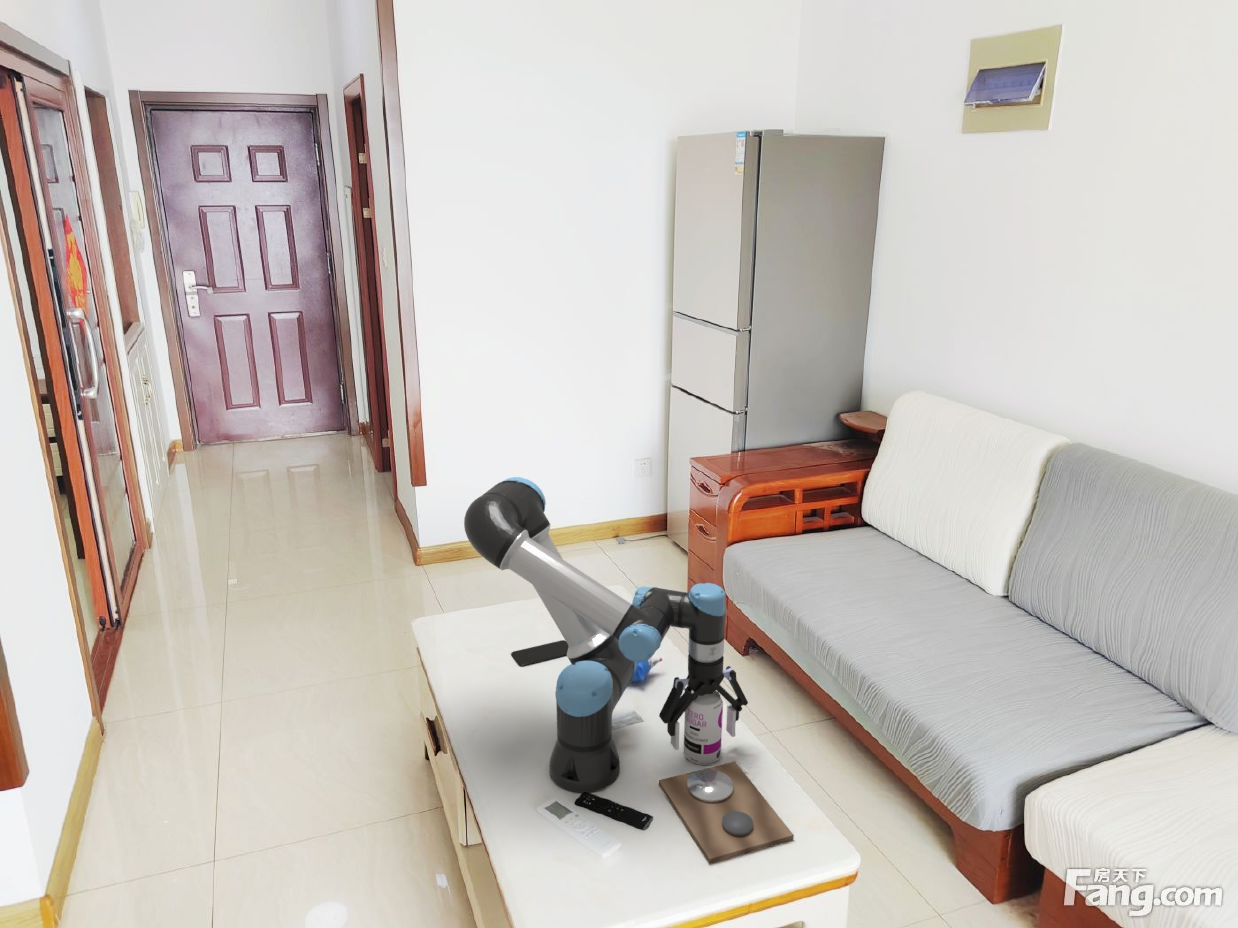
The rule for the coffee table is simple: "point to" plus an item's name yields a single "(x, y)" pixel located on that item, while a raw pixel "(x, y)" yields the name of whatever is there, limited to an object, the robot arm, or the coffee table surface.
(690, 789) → the large steel flange
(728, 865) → the coffee table surface
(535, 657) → the smartphone
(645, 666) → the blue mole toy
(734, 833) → the grey disc
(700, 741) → the supplement can
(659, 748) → the coffee table surface
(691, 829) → the walnut board
